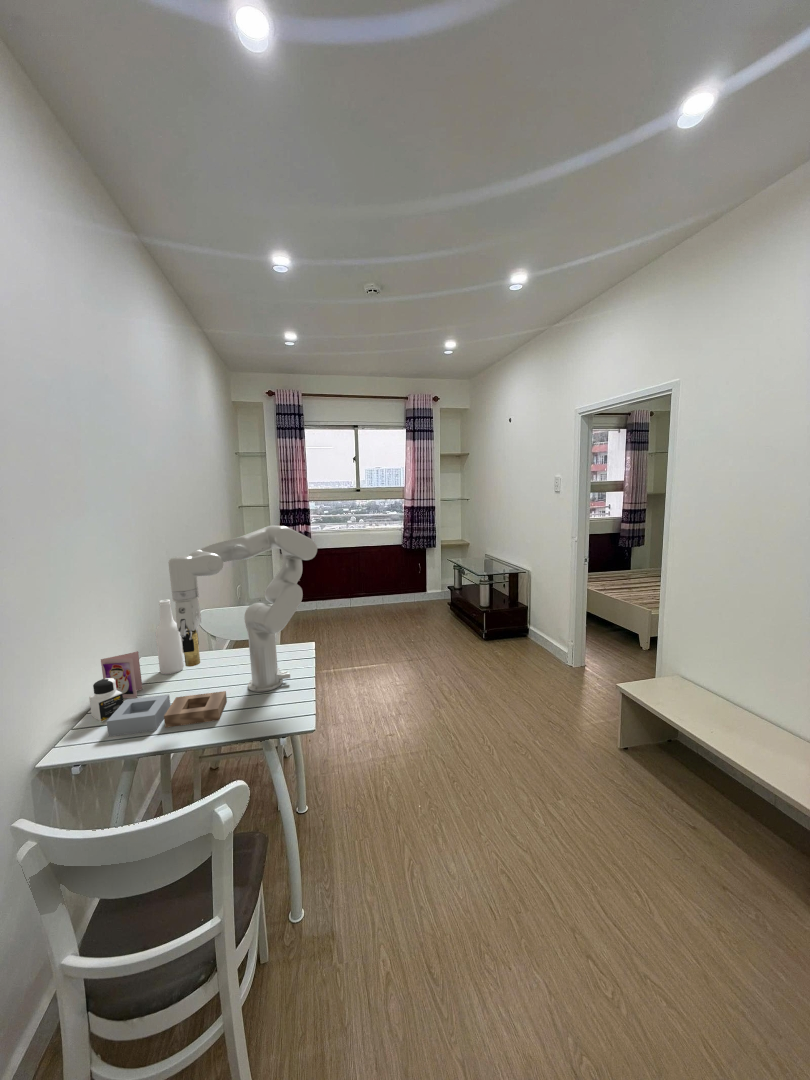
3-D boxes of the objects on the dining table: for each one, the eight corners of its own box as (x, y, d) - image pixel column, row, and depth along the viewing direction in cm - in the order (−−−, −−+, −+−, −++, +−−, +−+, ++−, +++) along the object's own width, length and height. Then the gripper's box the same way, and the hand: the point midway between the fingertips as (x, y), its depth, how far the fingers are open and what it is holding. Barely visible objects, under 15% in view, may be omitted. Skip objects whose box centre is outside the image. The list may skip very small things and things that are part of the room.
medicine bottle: (101, 722, 136) (96, 687, 134) (91, 716, 140) (86, 682, 138) (125, 712, 142) (120, 678, 140) (115, 706, 146) (110, 674, 144)
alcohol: (173, 675, 169) (165, 603, 165) (154, 674, 171) (146, 603, 167) (188, 666, 177) (181, 597, 173) (171, 665, 179) (163, 597, 175)
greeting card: (104, 699, 151) (98, 660, 149) (118, 689, 158) (113, 652, 156) (135, 698, 151) (130, 659, 149) (148, 688, 158) (143, 651, 156)
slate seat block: (170, 708, 144) (169, 694, 143) (156, 730, 131) (154, 715, 130) (127, 713, 141) (125, 699, 140) (108, 736, 128) (106, 721, 127)
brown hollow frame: (226, 701, 147) (225, 691, 146) (219, 720, 135) (218, 708, 134) (177, 708, 143) (176, 697, 143) (165, 727, 132) (163, 715, 131)
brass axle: (201, 660, 140) (198, 631, 138) (198, 665, 135) (195, 636, 134) (187, 661, 139) (184, 632, 137) (183, 667, 134) (180, 637, 133)
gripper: (190, 600, 126) (196, 657, 129) (204, 587, 143) (209, 638, 145) (163, 602, 125) (170, 660, 127) (180, 589, 141) (186, 640, 144)
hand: (191, 648), depth 136 cm, fingers closed on brass axle, 4 cm apart
